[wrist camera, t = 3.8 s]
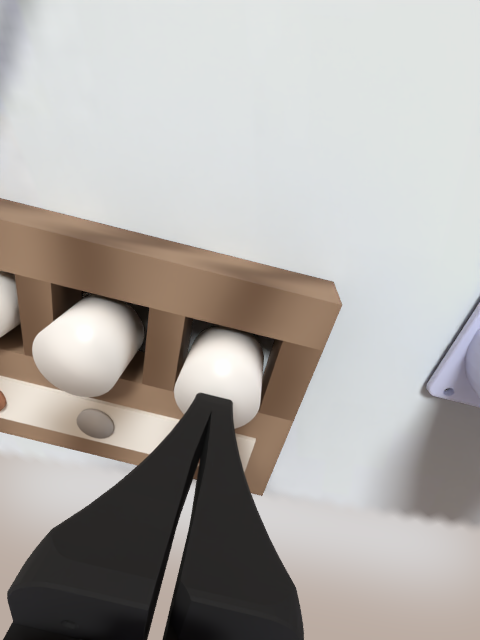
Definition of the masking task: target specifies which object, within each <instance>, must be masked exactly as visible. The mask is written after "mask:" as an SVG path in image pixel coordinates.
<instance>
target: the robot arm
mask: <svg viewBox="0 0 480 640" xmlns="http://www.w3.org/2000/svg"><path fill="white" fill-rule="evenodd" d="M447 388H450V389H449V390H447V391H444V390H445V389H447ZM427 390H428V391H429V393H430V394H431V395H433V396H435V397H439V398H443V399H447V400H451V401H455V402H459V403H463V404H468V405H472V406H476V407H480V303H479V304H478V306H477V307H476V309H475V310H474V312H473V313H472V315H471V317H470V318H469V320H468V321H467V323H466V324H465V326H464V327H463V329H462V330H461V332H460V334H459V335H458V337H457V338H456V340H455V341H454V343H453V344H452V346H451V347H450V349H449V351H448V352H447V354H446V355H445V357H444V358H443V360H442V361H441V363H440V364H439V366H438V368H437V369H436V371H435V372H434V374H433V375H432V377H431V378H430V380H429V382H428V383H427ZM199 460H200V462H199ZM198 463H199V469H198V475H197V482H196V488H195V496H194V502H193V508H192V514H191V520H190V526H189V531H188V535H187V539H186V543H185V548H184V552H183V556H182V561H181V564H180V569H179V573H178V577H177V581H176V585H175V590H174V594H173V598H172V602H171V606H170V611H169V615H168V619H167V623H166V627H165V632H164V636H163V640H304V631H303V622H302V615H301V609H300V604H299V599H298V595H297V591H296V587H295V585H294V583H293V582H292V580H291V578H290V576H289V574H288V573H287V571H286V569H285V567H284V565H283V564H282V562H281V560H280V558H279V556H278V554H277V552H276V550H275V548H274V546H273V544H272V542H271V540H270V538H269V536H268V534H267V531H266V529H265V527H264V525H263V522H262V520H261V518H260V515H259V513H258V511H257V508H256V506H255V503H254V500H253V498H252V495H251V492H250V489H249V486H248V483H247V480H246V477H245V473H244V470H243V466H242V463H241V459H240V455H239V450H238V445H237V440H236V435H235V429H234V420H233V402H232V401H231V400H229V399H225V398H221V397H217V396H213V395H209V394H205V393H201V392H200V393H198V394H196V396H195V398H194V400H193V402H192V404H191V405H190V407H189V408H188V410H187V411H186V413H185V414H184V415H183V417H182V418H181V419H180V421H179V422H178V423H177V424H176V426H175V427H174V428H173V429H172V431H171V432H170V433H169V434H168V435H167V436H166V437H165V439H164V440H163V441H162V442H161V443H160V444H159V445H158V446H157V447H156V448H155V449H154V450H153V451H152V452H151V453H150V454H149V455H148V456H147V457H146V458H145V459H144V460H143V461H142V462H141V463H140V464H139V465H138V466H137V467H136V468H135V469H133V470H132V471H131V472H130V473H129V474H128V475H127V476H125V477H124V478H123V479H122V480H121V481H119V482H118V483H117V484H116V485H115V486H113V487H112V488H111V489H109V490H108V491H107V492H105V493H104V494H103V495H101V496H100V497H99V498H97V499H96V500H95V501H93V502H92V503H91V504H89V505H88V506H86V507H85V508H84V509H82V510H81V511H79V512H78V513H76V514H74V515H73V516H71V517H70V518H68V519H67V520H65V521H64V522H62V523H61V524H59V525H58V526H56V527H54V528H53V529H52V530H51V531H50V532H49V533H48V534H47V535H46V537H45V538H44V539H43V540H42V541H41V542H40V544H39V545H38V546H37V547H36V549H35V550H34V551H33V553H32V554H31V555H30V557H29V558H28V559H27V561H26V562H25V564H24V565H23V567H22V569H21V570H20V572H19V574H18V575H17V577H16V579H15V581H14V582H13V584H12V585H11V587H10V589H9V590H8V593H7V596H8V597H7V599H8V604H9V607H10V611H11V615H12V618H13V623H12V624H11V626H10V628H9V630H8V632H7V634H6V635H5V637H4V639H3V640H147V638H148V634H149V630H150V627H151V623H152V619H153V615H154V611H155V607H156V603H157V600H158V596H159V592H160V588H161V584H162V580H163V577H164V573H165V569H166V565H167V561H168V557H169V554H170V550H171V546H172V542H173V539H174V534H175V531H176V527H177V524H178V520H179V517H180V514H181V511H182V509H183V506H184V503H185V500H186V497H187V494H188V491H189V489H190V486H191V483H192V480H193V477H194V474H195V471H196V469H197V466H198Z"/></svg>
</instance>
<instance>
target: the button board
mask: <svg viewBox="0 0 480 640" xmlns="http://www.w3.org/2000/svg"><path fill="white" fill-rule="evenodd" d="M0 270H1V271H5V272H9V273H13V274H15V281H16V289H17V297H18V305H19V313H20V322H21V324H19V325H18V326H16V327H15V328H13V329H12V330H10V331H9V332H8V333H6V334H5V335H3V336H2V337H0V432H3V433H7V434H11V435H15V436H19V437H24V438H28V439H32V440H36V441H40V442H44V443H48V444H52V445H56V446H60V447H65V448H69V449H73V450H77V451H81V452H85V453H89V454H93V455H97V456H101V457H105V458H110V459H114V460H118V461H122V462H126V463H130V464H134V465H139V464H140V463H141V462H142V461H143V460H144V459H145V458H146V457H147V456H148V455H149V454H150V453H151V452H152V451H153V450H154V449H155V448H156V447H157V446H158V445H159V444H160V443H161V442H162V441H163V440H164V439H165V437H166V436H167V435H168V434H169V433H170V432H171V431H172V429H173V428H174V427H175V426H176V424H177V423H178V422H179V421H180V419H181V418H182V417H183V415H184V414H183V413H182V411H181V410H180V409H179V407H178V405H177V403H176V401H175V397H174V387H175V384H176V381H177V379H178V377H179V374H180V372H181V370H182V367H183V365H184V363H185V361H186V358H187V352H188V347H189V341H190V335H191V329H192V324H193V318H194V319H198V320H202V321H206V322H210V323H214V324H218V325H222V326H226V327H230V328H234V329H238V330H242V331H246V332H250V333H254V334H258V335H262V336H266V337H270V338H274V339H275V340H274V343H273V346H272V349H271V353H270V356H269V359H268V362H267V365H266V368H265V371H264V374H263V377H262V387H261V400H260V407H259V410H258V412H257V414H256V416H255V417H254V418H253V419H252V420H251V421H250V422H249V423H247V424H245V425H243V426H241V427H239V428H235V435H236V440H237V445H238V450H239V455H240V459H241V463H242V466H243V470H244V473H245V477H246V480H247V483H248V486H249V489H250V492H251V493H253V494H257V495H261V496H262V495H263V493H264V490H265V488H266V485H267V483H268V481H269V478H270V476H271V473H272V471H273V469H274V466H275V464H276V462H277V459H278V457H279V454H280V452H281V450H282V447H283V445H284V442H285V440H286V438H287V435H288V433H289V431H290V428H291V426H292V423H293V421H294V419H295V416H296V414H297V411H298V409H299V407H300V404H301V402H302V400H303V397H304V395H305V392H306V390H307V388H308V385H309V383H310V380H311V378H312V376H313V373H314V371H315V369H316V366H317V364H318V361H319V359H320V357H321V354H322V352H323V349H324V347H325V345H326V342H327V340H328V338H329V335H330V333H331V330H332V328H333V326H334V323H335V321H336V318H337V316H338V314H339V311H340V309H341V307H342V303H341V300H340V298H339V295H338V292H337V290H336V287H335V284H334V282H332V281H328V280H324V279H320V278H316V277H312V276H308V275H304V274H300V273H296V272H292V271H288V270H284V269H280V268H276V267H272V266H268V265H264V264H260V263H256V262H252V261H248V260H244V259H240V258H236V257H232V256H228V255H224V254H220V253H216V252H212V251H208V250H204V249H200V248H196V247H192V246H188V245H184V244H180V243H176V242H172V241H168V240H164V239H160V238H156V237H152V236H148V235H144V234H140V233H136V232H132V231H128V230H125V229H121V228H117V227H113V226H109V225H105V224H101V223H97V222H93V221H89V220H85V219H81V218H77V217H73V216H69V215H65V214H61V213H57V212H53V211H49V210H45V209H41V208H37V207H33V206H29V205H25V204H21V203H17V202H13V201H9V200H5V199H1V198H0ZM82 291H85V292H89V293H93V294H97V295H101V296H105V297H109V298H113V299H117V300H121V301H125V302H129V303H133V304H137V305H141V306H145V307H149V317H148V327H147V337H146V348H145V352H142V351H137V353H136V354H135V356H134V357H133V359H132V360H131V361H130V363H129V364H128V366H127V367H126V369H125V370H124V372H123V373H122V375H121V376H120V377H119V379H118V380H117V382H116V383H115V385H114V386H113V387H112V389H111V390H109V391H108V392H107V393H105V394H103V395H100V396H96V397H80V396H76V395H72V394H69V393H67V392H64V391H62V390H60V389H59V388H57V387H56V386H54V385H53V384H51V383H50V382H49V381H48V380H47V379H46V378H45V377H44V376H43V375H42V373H41V372H40V371H39V369H38V368H37V366H36V364H35V362H34V358H33V354H32V346H33V342H34V339H35V337H36V336H37V335H38V333H39V332H41V331H42V330H43V329H45V328H46V327H47V326H48V325H50V324H51V323H52V322H53V321H55V320H56V319H57V318H58V317H60V316H61V315H62V314H64V313H65V312H66V311H67V310H69V309H70V308H71V307H72V306H74V305H75V304H76V303H77V302H79V301H80V300H81V299H82ZM199 462H200V460H199ZM198 469H199V463H198V466H197V469H196V471H195V474H194V477H193V479H196V480H197V475H198Z"/></svg>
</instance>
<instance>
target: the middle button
mask: <svg viewBox="0 0 480 640" xmlns="http://www.w3.org/2000/svg"><path fill="white" fill-rule="evenodd" d="M143 340H144V328H143V324H142V322H141V319H140V318H139V316H138V314H137V313H136V312H135V311H134V310H133V308H132V307H130V306H129V305H128V304H127V303H125V302H124V301H121V300H117V299H113V298H109V297H105V296H101V295H97V294H92V295H89V296H86V297H84V298H83V299H81V300H80V301H79V302H77V303H76V304H75V305H74V306H72V307H71V308H70V309H69V310H67V311H66V312H65V313H64V314H62V315H61V316H60V317H58V318H57V319H56V320H55V321H53V322H52V323H51V324H50V325H48V326H47V327H46V328H45V329H43V330H42V331H41V332H39V333H38V335H37V336H36V337H35V339H34V342H33V346H32V354H33V358H34V362H35V364H36V366H37V368H38V369H39V371H40V372H41V373H42V375H43V376H44V377H45V378H46V379H47V380H48V381H49V382H50V383H51V384H53V385H54V386H56V387H57V388H59V389H60V390H62V391H64V392H67V393H69V394H72V395H76V396H80V397H96V396H100V395H103V394H105V393H107V392H108V391H109V390H111V389H112V387H113V386H114V385H115V383H116V382H117V380H118V379H119V377H120V376H121V375H122V373H123V372H124V370H125V369H126V367H127V366H128V364H129V363H130V361H131V360H132V359H133V357H134V356H135V354H136V353H137V351H138V350H139V348H140V347H141V345H142V343H143Z"/></svg>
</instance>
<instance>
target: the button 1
mask: <svg viewBox="0 0 480 640" xmlns="http://www.w3.org/2000/svg"><path fill="white" fill-rule="evenodd" d="M19 324H21V322H20V313H19V305H18V297H17V289H16V281H15V274H13V273H9V272H5V271H1V270H0V337H2V336H3V335H5V334H6V333H8V332H9V331H10V330H12V329H13V328H15V327H16V326H18V325H19Z"/></svg>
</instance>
